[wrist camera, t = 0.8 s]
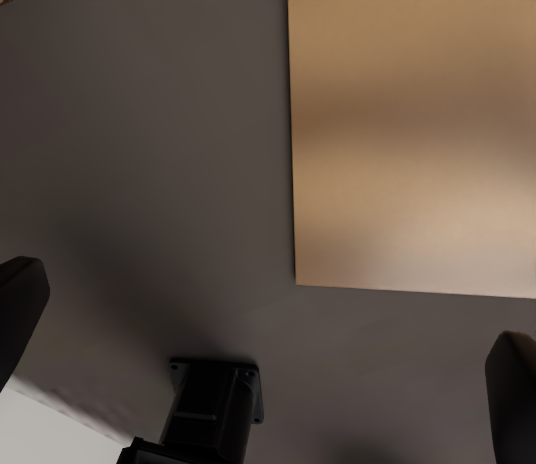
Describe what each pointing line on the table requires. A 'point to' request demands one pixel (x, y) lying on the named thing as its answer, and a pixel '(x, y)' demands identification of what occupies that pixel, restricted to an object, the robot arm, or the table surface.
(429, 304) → the table surface
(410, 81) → the wooden board
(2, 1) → the coffee cup
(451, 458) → the table surface
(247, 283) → the table surface
